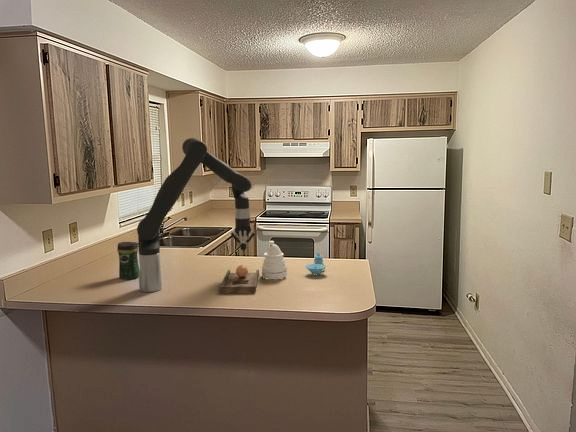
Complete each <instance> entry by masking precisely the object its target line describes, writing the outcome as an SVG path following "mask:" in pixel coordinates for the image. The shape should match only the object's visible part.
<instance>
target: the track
mask: <svg viewBox="0 0 576 432" xmlns="http://www.w3.org/2000/svg"><path fill="white" fill-rule="evenodd" d="M258 278H260V270H259V269H256V271H255V272H248V274H247V275H246V276H245V277H239V276H237V274H236V272H231V270H230V269H228V270H227V271H226V273H225V275H224V277H223V279H222V281H221V284H220V286H219V293H220V294H239V293H238V292H257V289H258V288H257V287H258V284H259V283H258V282H259V279H258ZM245 282H248V283H247V284H246V283H245ZM257 283H258V284H257ZM256 288H257V289H256Z"/></svg>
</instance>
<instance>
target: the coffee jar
mask: <svg viewBox="0 0 576 432" xmlns="http://www.w3.org/2000/svg"><path fill="white" fill-rule="evenodd" d="M117 253H118V261H119V266H118V267H119V269H118V273H119V274H118V277H119V278H120V279H121V280H122V279H123V280H132V279H133V280H134V279H139V273H138V271H139V270H140V264H139V257H138V253H139V244H138V243H137V242H136V241H121V242H118V243H117Z"/></svg>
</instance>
